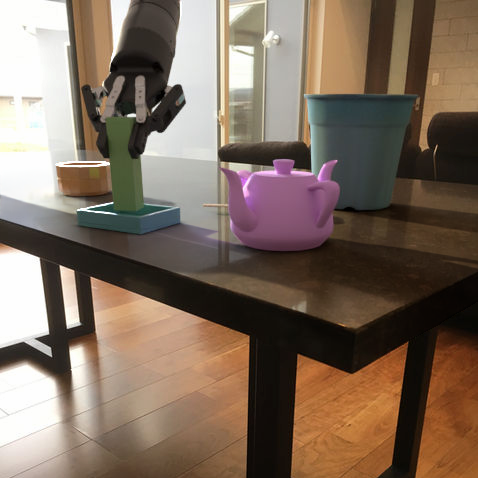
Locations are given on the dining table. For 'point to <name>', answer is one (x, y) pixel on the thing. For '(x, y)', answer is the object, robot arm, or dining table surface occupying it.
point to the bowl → (84, 178)
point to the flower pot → (359, 143)
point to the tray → (129, 218)
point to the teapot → (282, 206)
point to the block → (124, 166)
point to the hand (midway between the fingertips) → (118, 153)
